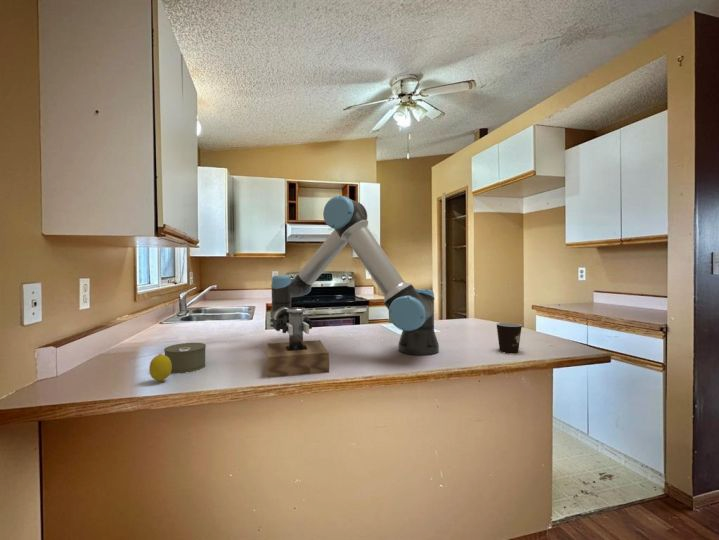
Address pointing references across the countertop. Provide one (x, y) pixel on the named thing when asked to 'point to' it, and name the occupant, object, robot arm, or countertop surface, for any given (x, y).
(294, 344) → the pin
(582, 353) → the countertop surface
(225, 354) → the countertop surface
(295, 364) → the block
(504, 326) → the coffee mug
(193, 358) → the can
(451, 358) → the countertop surface
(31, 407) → the countertop surface
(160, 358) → the lemon
